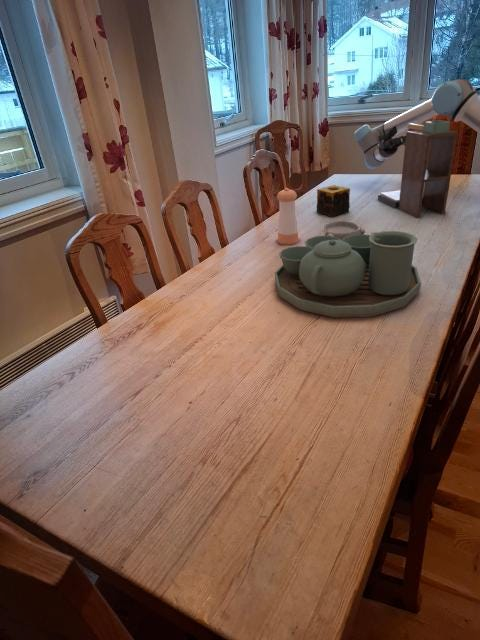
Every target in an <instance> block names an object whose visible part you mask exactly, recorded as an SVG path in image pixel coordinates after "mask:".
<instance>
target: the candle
mask: <svg viewBox="0 0 480 640" xmlns="http://www.w3.org/2000/svg"><path fill="white" fill-rule="evenodd" d="M350 194H351V188H350V187H345V186H341V185H336V184H332V185H328V186H325V187H321V188H317V189H316V213H317V214H321V215H324V216H328V217H331V218H333V217H337V216H340V215H343V214H346V213H349V212H350V208H351V207H350V206H351V204H350Z"/></svg>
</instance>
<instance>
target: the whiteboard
mask: <svg viewBox="0 0 480 640" xmlns="http://www.w3.org/2000/svg"><path fill="white" fill-rule="evenodd" d="M400 190H401V189H398V190H391V191H390V190H389V191H384V192H383V191H382V192H379V194H378V195H377V200H378V201H379V202H381V203H383V204H386V205H388V206H389V207H392V208H393V209H399V199H400ZM422 201H423V198H422Z"/></svg>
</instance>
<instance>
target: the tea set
mask: <svg viewBox="0 0 480 640" xmlns="http://www.w3.org/2000/svg"><path fill="white" fill-rule="evenodd" d="M417 242H418V237H417V236H415V234H412V233H409V232H406V231H398V230H387V231H386V230H385V231H383V230H382V231H379V232H378V231H377V232H375V231H374V232H370V234H363V235H352V236H349V237H344V238H343V241H342V240H340V239H339V238H337V237H332V236H323V235H318V236H312V237H310V238H307V239H306V240H305V242H304V244H305V246H303V245H302V246H300V245H297V246H290V247H287V248H284V249H282V250H281V251H280V252H279V254H278V255H279V258H280V260H281V262H282V264H281V266H280V267H279V268H278V269H277V270H276V271H275V272H274V280H275V284H276V291H277V294H278V296H279V297H280V298H281V299H282V300H285V302H287V303H289V304H290V305H292V306H294V307H295V308H296V309H298V310H300V311H304V312H308V313H312V314H317V315H321V316H322V315H323V316H327V317H331V318H359V317H360V318H361V317H362V318H364V317H365V318H366V317H375V316H378V315H381V314H385V313H388V312H391V311H394V310H398V309H401V308H404V307H406V305H407V304H408V303H409V302H410V301H411V300H412V299H414V297H415V296H416V295H417V294H418V293H419V292H420V290H421V286H422V282H421V278H420V275H419V271H418V268H417V267H416V266H414V265H413V258H414V250H415V245H416V244H417Z"/></svg>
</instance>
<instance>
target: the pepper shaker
mask: <svg viewBox="0 0 480 640" xmlns="http://www.w3.org/2000/svg"><path fill="white" fill-rule="evenodd" d="M297 198H298V194H297V192H296V191H295V190H293V189H289V187H285V188H284V189H283V190H280V191H279V192H278V193H277V194H276V199H277V201H278V202H279V203H278V205H279V206H278V207H279V208H278V209H279V215H278V224H277V225H278V232H277V242H278V243H279V244H281V245H294V244H296V243H298V242H299V231H298V219H297V215H296V200H297Z"/></svg>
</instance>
